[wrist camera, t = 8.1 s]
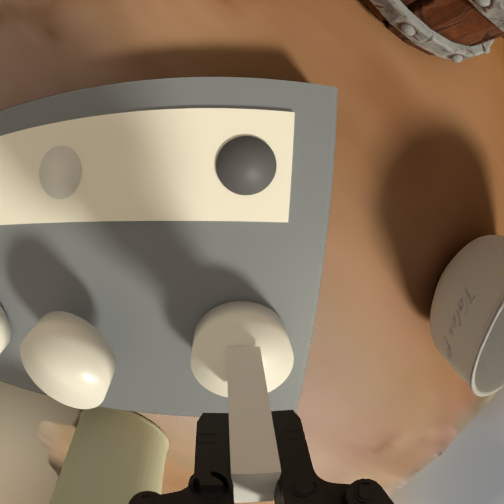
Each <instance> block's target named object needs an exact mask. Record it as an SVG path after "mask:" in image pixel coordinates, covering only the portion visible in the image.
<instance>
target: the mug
mask: <svg viewBox="0 0 504 504" xmlns="http://www.w3.org/2000/svg"><path fill="white" fill-rule="evenodd" d="M363 1H364V3H365V4H366V5H367V6H368V8H369V9H370V10H371V11H372V12H373V13H374V14H375V15H376V17H377V18H378V19H379V20H380V21H388V22H389V25H388V29H389V30H391V31H392V32H393V33H394V34H396V35H397V36H398V37H399V38H401V39H402V40H403V41H404V42H405V43H407V44H409V45H411V46H413V47H415V48H417V49H419V50H421V51H423V52H425V53H427V54H428V55H435V56H438V57H440V58H446V59H451V60H452V61H454V62H456V63H459V62H461V61H463V60H465V59H468V58H471V57H474V56H477V55H480V54H483V53H485V54H487V53H489V52H490V46H491V44H492V43H493V41H494V39H496V38H499V37H502V38H504V0H363Z"/></svg>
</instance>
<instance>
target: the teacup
mask: <svg viewBox="0 0 504 504" xmlns="http://www.w3.org/2000/svg"><path fill="white" fill-rule="evenodd" d="M430 328H431V334H432V338H433V341H434V343H435V345H436V347H437V349H438V350H439V352H440V353H441V355H442V356H443V357H444V358H445V360H446V361H447V362H448V363H449V364H450V365H451V367H452V368H453V369H454V370H455V371H456V372H457V373H458V374H459V375H460V376H461V377H462V378H463V379H464V380H465V381H466V383H467V384H468V385H469V386H470V389H471V390H472V392H473V393H474V394H475V395H477V396H482V397H483V396H487V395H490V394H492V393H494V392H496V391H498V390H499V389H501V388H502V387H503V386H504V236H499V235H486V236H482V237H479V238H477V239H475V240H473V241H471V242H470V243H468V244H467V245H466V246H464V247H463V248H462V249H461V250H460V251H459V252H458V253H457V254H456V256H455V257H454V258H453V259H452V260H451V261H450V263H449V264H448V265H447V267H446V268H445V270H444V272H443V273H442V275H441V277H440V279H439V282H438V284H437V287H436V290H435V294H434V298H433V301H432V306H431V314H430Z"/></svg>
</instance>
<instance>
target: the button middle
mask: <svg viewBox="0 0 504 504" xmlns="http://www.w3.org/2000/svg"><path fill="white" fill-rule="evenodd" d="M20 356H21V360H22V363H23V366H24V368H25V370H26V372H27V373H28V375H29V376H30V378H31V379H32V380H33V382H34V383H35V384H36V385H37V386H38V387H39V388H40V389H41V390H42V391H43V392H45V393H46V394H47V395H49V396H50V397H51V398H53V399H55V400H56V401H58V402H60V403H62V404H64V405H67V406H70V407H73V408H78V409H91V408H95V407H97V406H99V405H100V404H101V403H102V402H103V400H104V398H105V395H106V393H107V390H108V388H109V385H110V383H111V380H112V378H113V375H114V372H115V369H116V360H115V356H114V353H113V350H112V348H111V346H110V345H109V343H108V341H107V340H106V339H105V337H104V336H103V335H102V334H101V333H100V332H99V331H98V330H97V329H96V328H95V327H94V326H93V325H91V324H90V323H89V322H87V321H86V320H84V319H82V318H81V317H79V316H76V315H74V314H71V313H68V312H63V311H54V312H50V313H47V314H45V315H44V316H43V317H42V318H41V319H40V320H39V321H38V322H37V324H36V325H35V326H34V327H33V328H32V329H31V331H30V332H29V333H28V334H27V335H26V337H25V338H24V339H23V341H22V343H21V345H20Z"/></svg>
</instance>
